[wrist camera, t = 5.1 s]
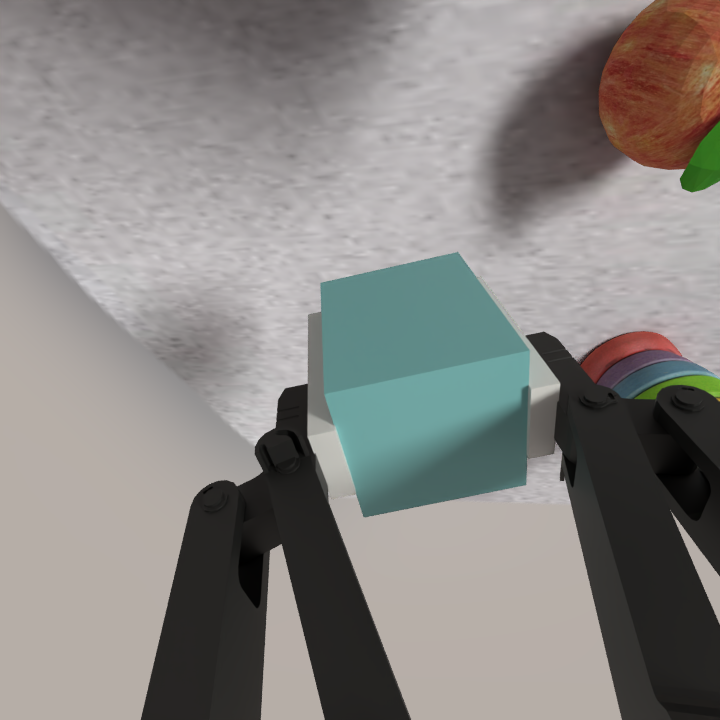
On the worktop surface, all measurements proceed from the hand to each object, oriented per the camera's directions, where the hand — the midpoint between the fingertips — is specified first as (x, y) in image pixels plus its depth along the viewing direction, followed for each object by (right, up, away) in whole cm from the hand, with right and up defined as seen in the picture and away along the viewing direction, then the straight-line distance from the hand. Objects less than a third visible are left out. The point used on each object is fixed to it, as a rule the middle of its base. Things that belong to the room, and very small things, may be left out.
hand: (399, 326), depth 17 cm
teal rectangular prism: (0, 0, 0) cm, 0 cm away
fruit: (+15, +16, +9) cm, 24 cm away
